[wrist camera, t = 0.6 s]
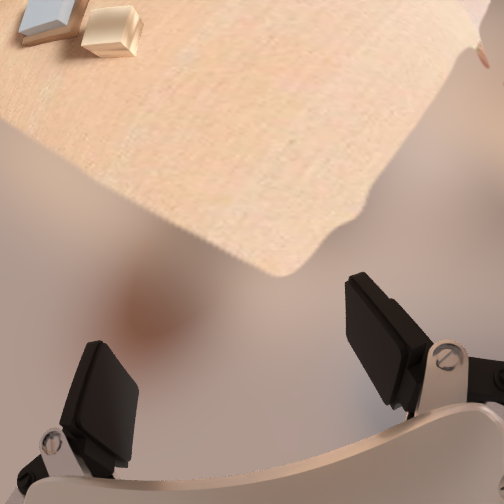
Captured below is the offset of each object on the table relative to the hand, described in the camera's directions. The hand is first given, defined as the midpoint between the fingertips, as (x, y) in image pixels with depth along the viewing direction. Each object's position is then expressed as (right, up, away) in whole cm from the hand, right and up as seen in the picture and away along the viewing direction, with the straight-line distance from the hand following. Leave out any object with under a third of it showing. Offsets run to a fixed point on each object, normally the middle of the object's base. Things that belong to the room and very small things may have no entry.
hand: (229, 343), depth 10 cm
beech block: (-16, +31, +15) cm, 38 cm away
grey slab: (-26, +36, +8) cm, 45 cm away
